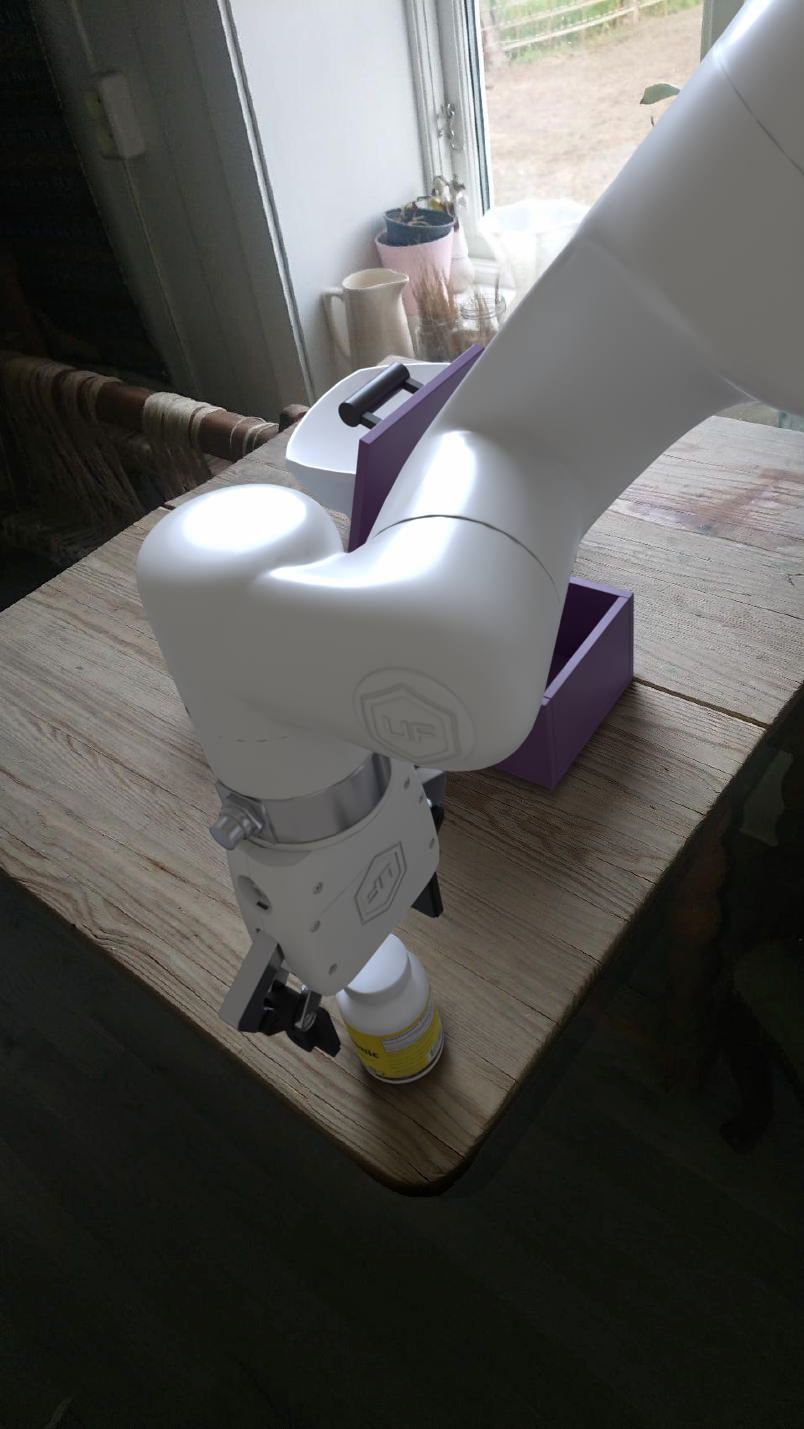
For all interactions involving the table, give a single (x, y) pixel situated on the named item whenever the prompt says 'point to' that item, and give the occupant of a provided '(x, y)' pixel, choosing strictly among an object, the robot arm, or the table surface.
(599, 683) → the purple box
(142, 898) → the table surface
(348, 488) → the bowl
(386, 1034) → the supplement bottle
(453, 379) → the lid
